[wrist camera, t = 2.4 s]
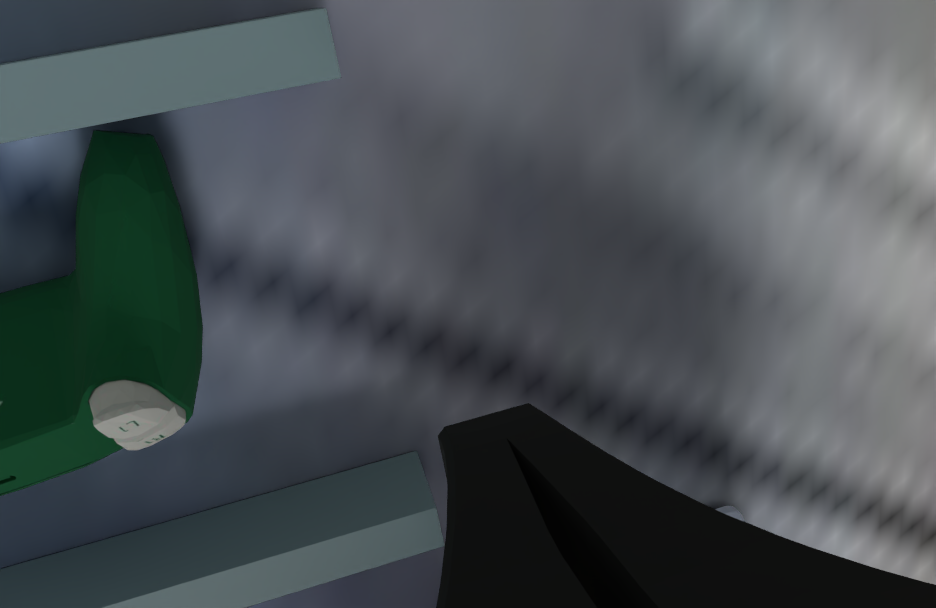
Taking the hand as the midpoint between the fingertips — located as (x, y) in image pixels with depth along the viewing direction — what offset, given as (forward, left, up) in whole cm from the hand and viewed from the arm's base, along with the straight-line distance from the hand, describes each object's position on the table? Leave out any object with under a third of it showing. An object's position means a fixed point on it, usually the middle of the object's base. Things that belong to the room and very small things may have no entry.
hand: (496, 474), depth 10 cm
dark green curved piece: (+9, -1, -9) cm, 12 cm away
